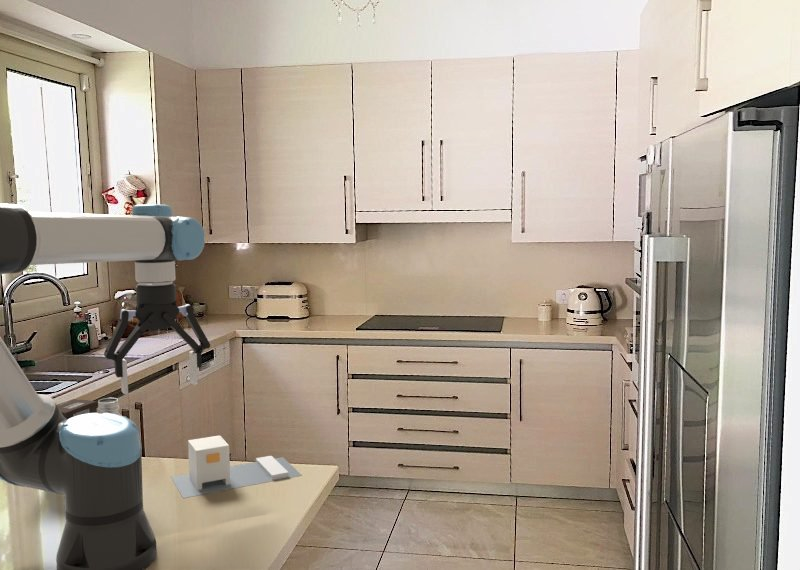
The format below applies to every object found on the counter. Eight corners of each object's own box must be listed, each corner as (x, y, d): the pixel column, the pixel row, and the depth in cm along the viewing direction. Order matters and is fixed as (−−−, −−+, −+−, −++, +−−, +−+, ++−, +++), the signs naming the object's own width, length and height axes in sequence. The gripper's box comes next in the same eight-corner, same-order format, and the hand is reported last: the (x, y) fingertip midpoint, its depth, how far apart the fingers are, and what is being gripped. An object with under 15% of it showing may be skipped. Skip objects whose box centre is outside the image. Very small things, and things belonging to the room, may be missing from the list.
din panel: (302, 482, 154) (302, 470, 154) (183, 505, 143) (183, 493, 142) (282, 463, 164) (282, 452, 164) (171, 484, 153) (170, 472, 153)
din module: (230, 484, 149) (229, 445, 148) (198, 490, 146) (196, 451, 145) (221, 472, 155) (219, 435, 154) (189, 478, 152) (187, 440, 151)
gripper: (212, 277, 157) (215, 376, 160) (84, 285, 144) (90, 392, 147) (223, 280, 151) (226, 383, 153) (91, 289, 138) (97, 401, 140)
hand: (160, 388), depth 150 cm, fingers open, 13 cm apart
